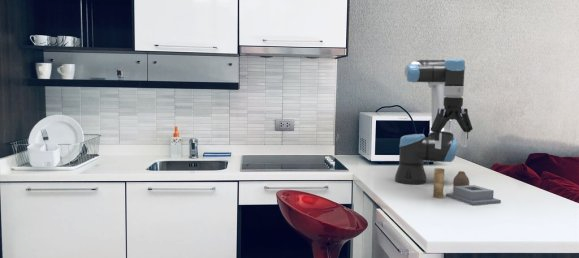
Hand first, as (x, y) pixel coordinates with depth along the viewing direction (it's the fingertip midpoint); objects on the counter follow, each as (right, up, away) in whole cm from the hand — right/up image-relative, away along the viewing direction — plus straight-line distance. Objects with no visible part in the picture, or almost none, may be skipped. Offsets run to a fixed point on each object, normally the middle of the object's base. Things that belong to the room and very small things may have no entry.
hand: (450, 147), depth 187 cm
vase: (+10, -20, +16) cm, 28 cm away
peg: (-4, -21, +3) cm, 22 cm away
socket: (+9, -21, -1) cm, 23 cm away
